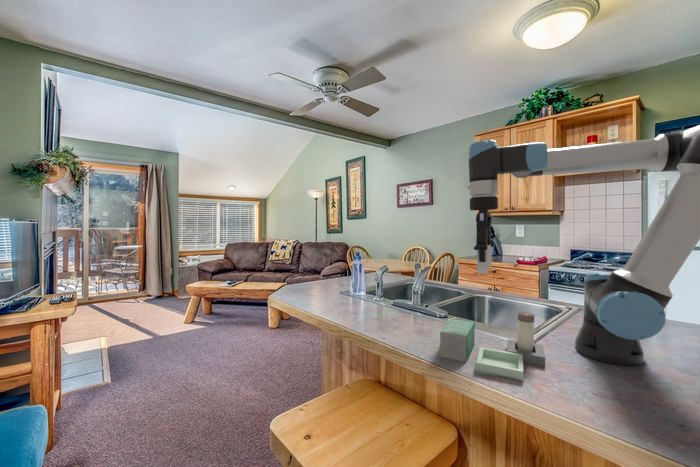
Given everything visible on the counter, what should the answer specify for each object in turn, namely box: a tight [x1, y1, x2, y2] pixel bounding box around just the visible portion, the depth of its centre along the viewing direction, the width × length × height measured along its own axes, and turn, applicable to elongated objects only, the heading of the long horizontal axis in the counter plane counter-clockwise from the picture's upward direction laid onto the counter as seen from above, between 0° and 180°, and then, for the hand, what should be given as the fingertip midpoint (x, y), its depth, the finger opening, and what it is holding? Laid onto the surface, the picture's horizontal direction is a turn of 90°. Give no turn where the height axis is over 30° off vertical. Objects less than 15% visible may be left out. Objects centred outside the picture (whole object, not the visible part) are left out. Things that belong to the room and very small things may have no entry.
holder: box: [506, 338, 546, 368], centre depth 89 cm, size 9×9×2 cm
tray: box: [475, 346, 524, 383], centre depth 83 cm, size 10×10×2 cm
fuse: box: [516, 311, 535, 352], centre depth 89 cm, size 4×4×12 cm
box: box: [439, 318, 476, 363], centre depth 93 cm, size 7×14×8 cm, turn 150°
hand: (484, 269), depth 92 cm, fingers open, 13 cm apart
